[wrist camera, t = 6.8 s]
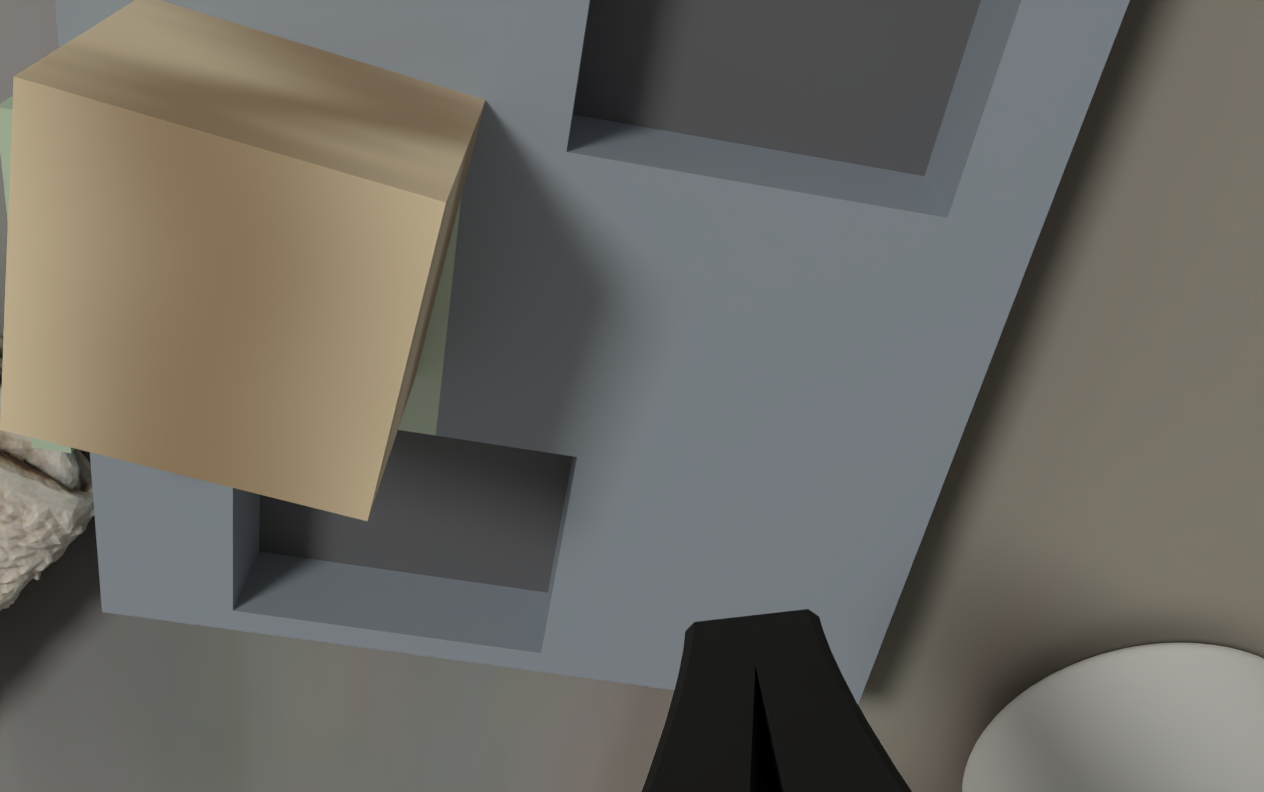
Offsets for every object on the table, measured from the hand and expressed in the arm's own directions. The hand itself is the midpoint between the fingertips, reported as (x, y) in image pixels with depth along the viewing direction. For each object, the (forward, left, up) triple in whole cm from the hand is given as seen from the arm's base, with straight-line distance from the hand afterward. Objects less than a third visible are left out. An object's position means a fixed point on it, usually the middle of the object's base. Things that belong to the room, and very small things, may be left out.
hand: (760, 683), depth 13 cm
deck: (+3, 0, -10) cm, 10 cm away
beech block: (+7, -1, -8) cm, 11 cm away
